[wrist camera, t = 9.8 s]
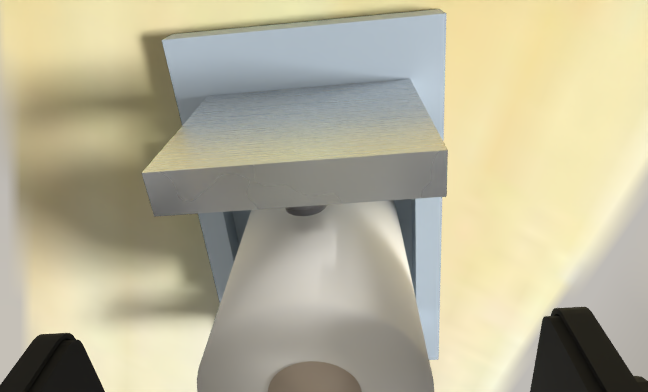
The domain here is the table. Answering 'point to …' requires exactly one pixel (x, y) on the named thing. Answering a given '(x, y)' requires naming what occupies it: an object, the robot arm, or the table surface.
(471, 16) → the table surface
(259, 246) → the roll
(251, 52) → the holder
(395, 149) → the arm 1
